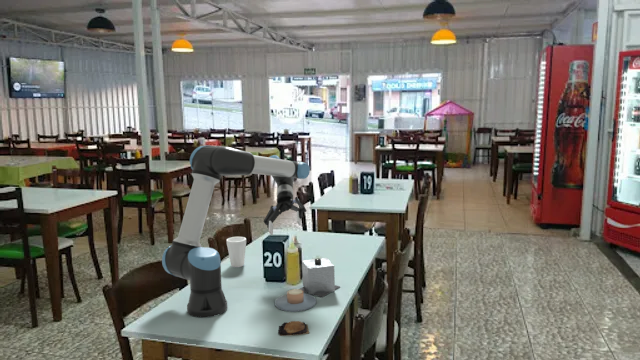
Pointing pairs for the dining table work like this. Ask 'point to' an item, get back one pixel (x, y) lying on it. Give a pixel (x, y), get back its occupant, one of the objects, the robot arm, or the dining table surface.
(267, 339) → the dining table surface
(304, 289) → the mat
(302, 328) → the bread roll
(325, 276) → the food cover
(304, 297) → the plate with peach cylinder
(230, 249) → the foam cup
